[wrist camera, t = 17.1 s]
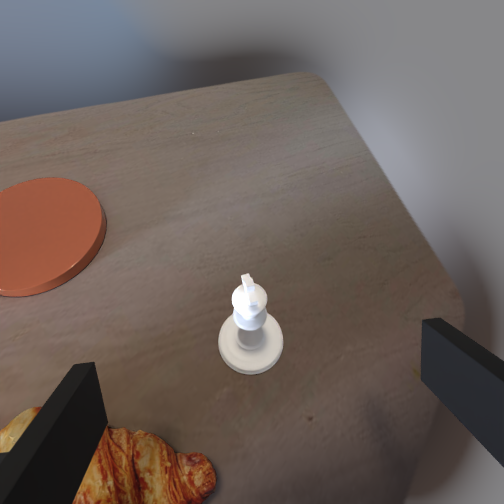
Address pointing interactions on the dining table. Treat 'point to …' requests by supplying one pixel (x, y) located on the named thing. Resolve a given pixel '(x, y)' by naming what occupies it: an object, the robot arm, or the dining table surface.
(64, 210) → the orange flat disc
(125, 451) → the croissant
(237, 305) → the chess piece
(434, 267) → the dining table surface
